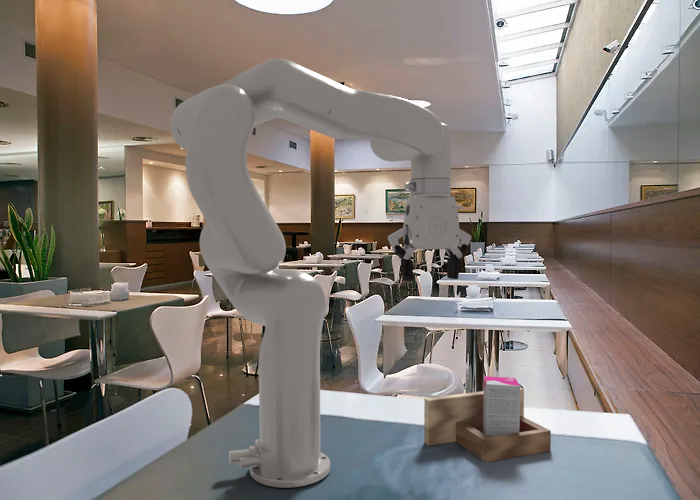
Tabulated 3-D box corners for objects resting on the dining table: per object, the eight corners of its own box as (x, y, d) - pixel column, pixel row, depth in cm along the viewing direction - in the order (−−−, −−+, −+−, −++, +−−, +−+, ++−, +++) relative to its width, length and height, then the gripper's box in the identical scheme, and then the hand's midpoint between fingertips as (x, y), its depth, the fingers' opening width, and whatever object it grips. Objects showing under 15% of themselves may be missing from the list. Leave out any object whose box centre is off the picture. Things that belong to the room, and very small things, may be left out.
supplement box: (520, 452, 93) (520, 385, 93) (484, 450, 94) (485, 384, 93) (515, 439, 99) (515, 376, 98) (481, 437, 100) (482, 375, 99)
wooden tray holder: (455, 467, 87) (455, 417, 87) (424, 442, 97) (424, 398, 97) (557, 449, 94) (558, 403, 94) (518, 428, 104) (519, 386, 104)
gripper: (397, 187, 98) (397, 283, 98) (480, 189, 104) (480, 279, 104) (380, 190, 105) (381, 279, 105) (459, 191, 111) (459, 276, 111)
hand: (430, 279), depth 105 cm, fingers open, 9 cm apart
